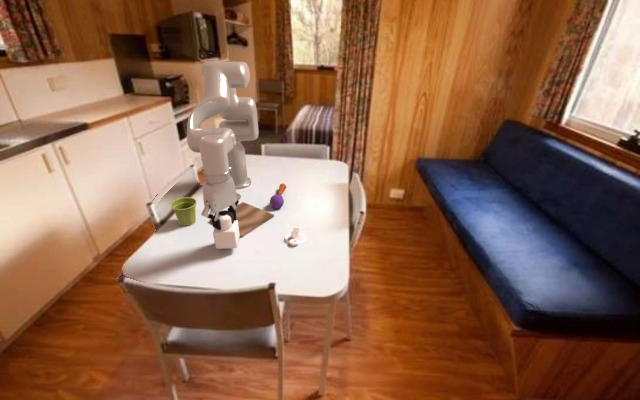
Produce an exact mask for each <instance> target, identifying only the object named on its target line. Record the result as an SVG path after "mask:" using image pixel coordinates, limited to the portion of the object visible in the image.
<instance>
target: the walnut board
mask: <svg viewBox="0 0 640 400" xmlns="http://www.w3.org/2000/svg"><path fill="white" fill-rule="evenodd" d="M274 217H275V215H274V214H273V213H271V212H268V211H266V210H264V209H261V208H259V207H256V206H254V205H253V204H252V205H251V204H249V203H246V202H244V201H243V202H240V203H238V205H237V209H236V218H237V220H238V226H239V234H240V237H239V238H244V237H245V236H247V235H248V234H250V233H252V232H253V231H254V230H255V229H257V228H260V227H261V226H262V225H263V224H265V223H267V222H269V220H271V219H273V218H274ZM209 223H211V224H212V220H211V219H210V218H209Z"/></svg>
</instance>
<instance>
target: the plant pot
mask: <svg viewBox="0 0 640 400" xmlns="http://www.w3.org/2000/svg"><path fill="white" fill-rule="evenodd" d="M197 202H198V200H197V199H196V198H194V197H191V196H190V197H188V196H187V197H180V198H177V199H175V200H173V201H172V202H171V203H170V205H169V206H170V208H171V209H172V211H173V212H174V214H175V216H176V219H177V221H178V223H179V225H180V226H183V227H187V226H192V225H194V224H195V223H196V221H197V218H196V207H197V204H198V203H197Z"/></svg>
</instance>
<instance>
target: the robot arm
mask: <svg viewBox="0 0 640 400" xmlns="http://www.w3.org/2000/svg"><path fill="white" fill-rule="evenodd" d="M200 68H201V69H200V70H201V75H202V77H203V93H202V94H203V98H202V100H201V101H200V102H199V103H198V104H197V105H195V107H193V109H192V111H191V112H190V113H189V116H188V119H187V126H186V127H187V128H186V142H187V146H188V148H189V149H190V151H192V152H193V153H200V158H201V163H202V168H203V170H202V171H203V176H204V181H203V182H202V183H203V184H202V198H203V199H202V200H203V205H204V206H203V209H202V210H201V213H200V215H201V216H203V217H205V218H207V219H209V220H210V219H211V220H212V223H211V225H212V228H213V229H214V228H216V229H218V230H221V225H220V220H219V219H218V215H219V212H220V211H224V210H225V209H227V210H228V211H231V212H232V213H233V216H234V221H236V220H237V218H236V209H237V205H238V204H240V203H239V202H240V199H241V197H242V195H241V194H240V193H238V192H237V190H238V189H244V188H247V187H249V186H250V185H251V183H252V179H251V178H250V177H248V169H247V159H246V150H245V147H244V146H243V144H242V143H241V142H244V141H245V142H246V141H255V140H257V139H258V138H259V123H258V122H259V120H258V112H257V105H256V102H255V100H254V99H253V98H252V97H251V96H250V97H249V96H238V93H237V89H246V88H248V85H249V84H250V81H251V70H250V68H249V65H248V63H247V62H246V61H222V60H215V61H214V60H213V61H212V60H211V61H204V62H203V63H202V64H201V67H200ZM217 115H219V116H220V118H222V119H223V120H222V121H220V123H219V124H218V127H201V125H202V124H203V123H204V122H205V121H207V120H209V119H211V118H213V117H215V116H217Z"/></svg>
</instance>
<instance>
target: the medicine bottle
mask: <svg viewBox="0 0 640 400" xmlns="http://www.w3.org/2000/svg"><path fill="white" fill-rule="evenodd" d="M218 219H219V220H220V225H221V230H218V229H216V228H214V227H213V231H212V235H213V239H214V241H213V242H214V246H215V249H216V250H220V249H237V248H238V246H239V245H238V244H239V240H240V238H241V237H240V234H239V226H238V220H236V221H234V216H233V213H232V212H231V211H228V209H227V210H225V209H223V210H221V211H220V212H219V215H218Z"/></svg>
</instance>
